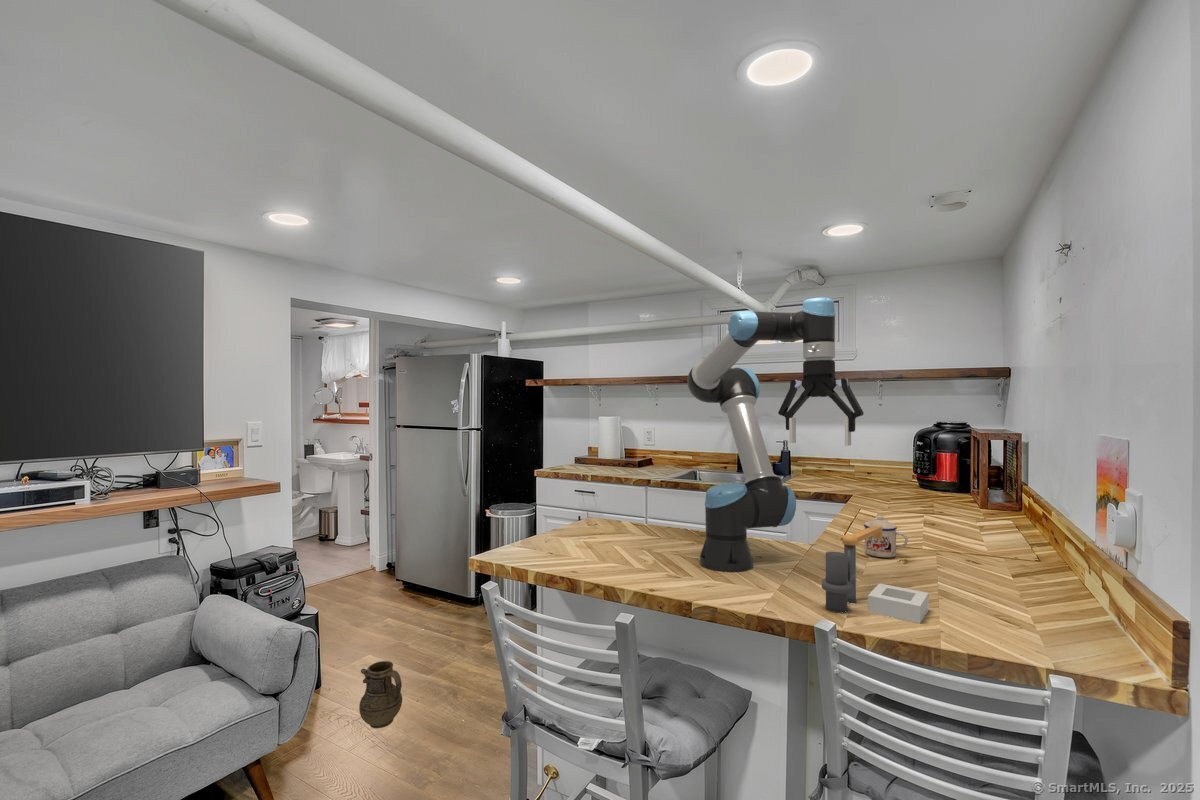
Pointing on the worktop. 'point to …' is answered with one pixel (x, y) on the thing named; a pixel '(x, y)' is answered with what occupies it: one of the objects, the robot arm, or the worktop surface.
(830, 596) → the plug
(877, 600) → the socket block
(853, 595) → the clip post
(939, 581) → the worktop surface
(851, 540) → the clip
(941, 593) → the worktop surface
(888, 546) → the teacup with lid
